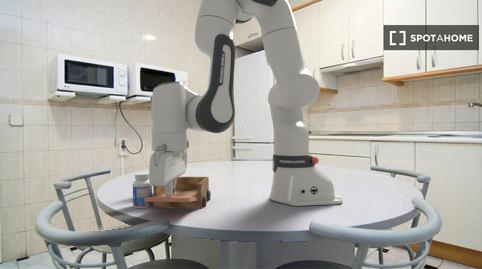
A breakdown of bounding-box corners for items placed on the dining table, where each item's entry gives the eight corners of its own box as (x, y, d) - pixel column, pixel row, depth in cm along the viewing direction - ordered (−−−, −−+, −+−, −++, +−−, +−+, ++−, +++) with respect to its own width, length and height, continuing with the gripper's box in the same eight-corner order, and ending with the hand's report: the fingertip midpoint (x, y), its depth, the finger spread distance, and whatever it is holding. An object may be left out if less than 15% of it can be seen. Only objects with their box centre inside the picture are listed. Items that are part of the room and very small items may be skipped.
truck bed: (211, 197, 91) (211, 176, 91) (204, 208, 79) (204, 184, 79) (164, 197, 92) (164, 176, 92) (150, 208, 80) (150, 183, 80)
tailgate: (198, 196, 79) (190, 197, 70) (198, 200, 79) (190, 202, 70) (155, 196, 79) (143, 197, 70) (155, 200, 79) (142, 201, 70)
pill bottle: (134, 204, 84) (134, 172, 84) (153, 203, 85) (152, 171, 85) (131, 209, 79) (131, 175, 78) (151, 207, 80) (151, 174, 80)
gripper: (168, 146, 62) (169, 207, 62) (190, 141, 82) (191, 187, 83) (141, 146, 62) (142, 207, 62) (169, 141, 83) (170, 187, 83)
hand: (170, 196), depth 73 cm, fingers closed
